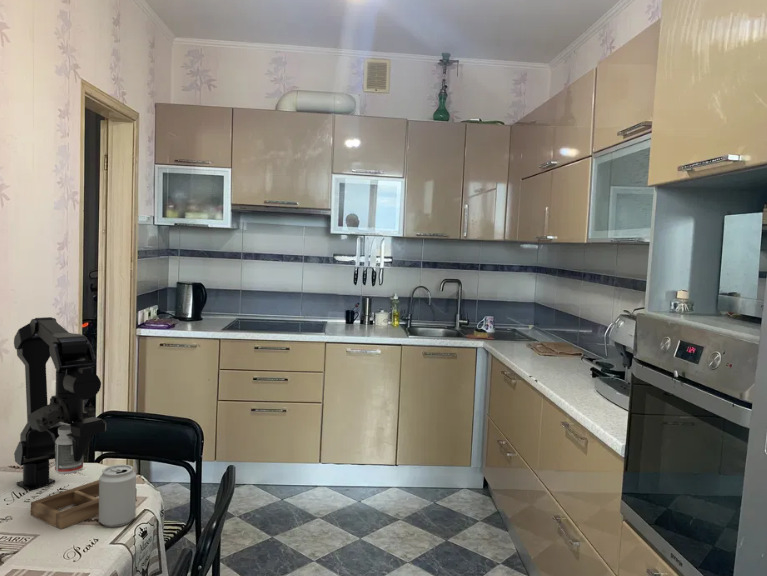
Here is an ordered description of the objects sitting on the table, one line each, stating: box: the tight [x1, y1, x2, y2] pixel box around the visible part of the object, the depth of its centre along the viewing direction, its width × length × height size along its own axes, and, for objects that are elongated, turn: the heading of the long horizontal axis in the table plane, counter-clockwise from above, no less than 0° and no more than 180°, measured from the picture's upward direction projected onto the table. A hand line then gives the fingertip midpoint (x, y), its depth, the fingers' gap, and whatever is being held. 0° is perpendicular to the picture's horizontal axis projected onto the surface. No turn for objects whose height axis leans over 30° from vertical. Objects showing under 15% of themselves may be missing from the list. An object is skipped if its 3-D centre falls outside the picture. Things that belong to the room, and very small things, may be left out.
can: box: [98, 464, 137, 528], centre depth 129 cm, size 8×8×12 cm
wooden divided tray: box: [30, 479, 138, 530], centre depth 135 cm, size 12×18×3 cm, turn 149°
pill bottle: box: [54, 425, 84, 475], centre depth 132 cm, size 6×6×10 cm
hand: (69, 458), depth 132 cm, fingers closed on pill bottle, 6 cm apart
